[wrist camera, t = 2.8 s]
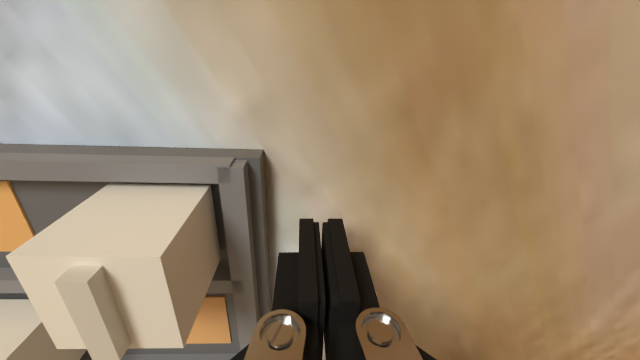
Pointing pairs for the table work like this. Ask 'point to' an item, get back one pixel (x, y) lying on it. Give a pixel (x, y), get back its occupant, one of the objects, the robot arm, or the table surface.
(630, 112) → the table surface
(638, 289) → the table surface
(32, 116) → the table surface
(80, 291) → the cream block with bar
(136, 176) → the switch bank
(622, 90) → the table surface
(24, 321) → the cream block with ridge
